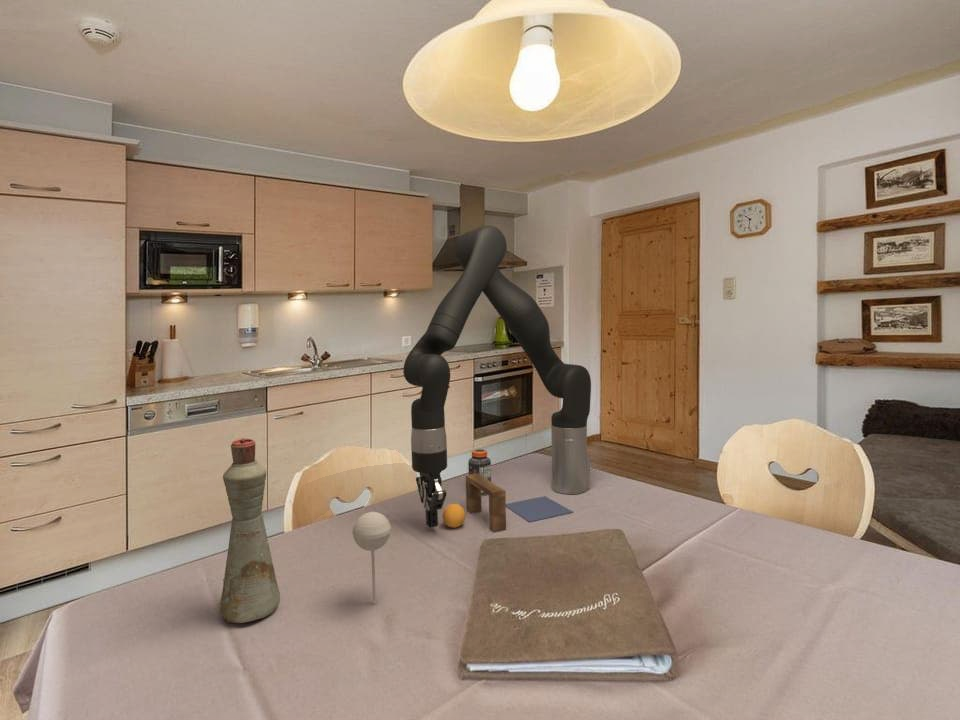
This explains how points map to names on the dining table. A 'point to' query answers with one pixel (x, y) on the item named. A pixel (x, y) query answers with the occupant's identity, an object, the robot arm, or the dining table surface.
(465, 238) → the robot arm
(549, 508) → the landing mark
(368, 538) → the lollipop
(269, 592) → the bottle
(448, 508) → the ball
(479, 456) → the pill bottle
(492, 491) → the bridge
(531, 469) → the dining table surface
